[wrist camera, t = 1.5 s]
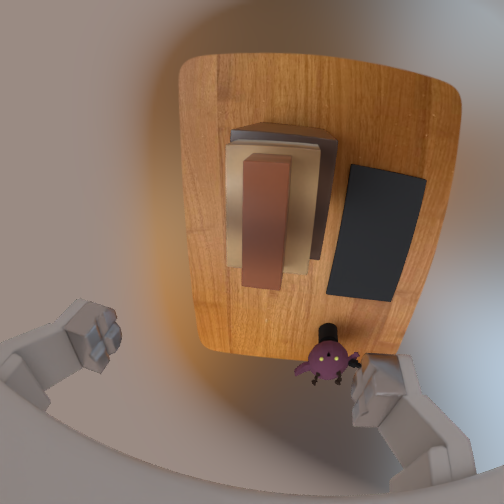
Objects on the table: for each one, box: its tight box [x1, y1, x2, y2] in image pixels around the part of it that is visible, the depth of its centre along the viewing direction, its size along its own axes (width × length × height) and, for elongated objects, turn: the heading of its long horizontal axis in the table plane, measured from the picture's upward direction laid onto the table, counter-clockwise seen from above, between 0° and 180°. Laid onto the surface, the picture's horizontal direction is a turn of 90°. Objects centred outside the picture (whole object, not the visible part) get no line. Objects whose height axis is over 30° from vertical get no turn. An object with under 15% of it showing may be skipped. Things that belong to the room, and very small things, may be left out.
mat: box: [326, 164, 427, 302], centre depth 38 cm, size 20×11×1 cm, turn 177°
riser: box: [230, 122, 338, 260], centre depth 29 cm, size 10×8×16 cm
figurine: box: [294, 323, 361, 385], centre depth 42 cm, size 8×8×12 cm
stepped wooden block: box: [226, 139, 321, 290], centre depth 19 cm, size 9×6×6 cm, turn 179°
